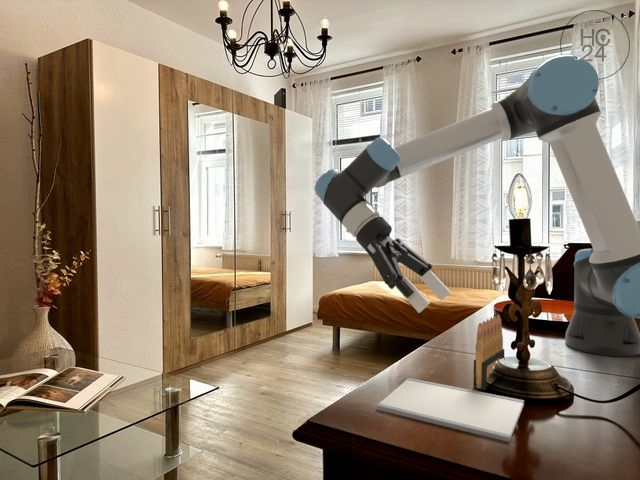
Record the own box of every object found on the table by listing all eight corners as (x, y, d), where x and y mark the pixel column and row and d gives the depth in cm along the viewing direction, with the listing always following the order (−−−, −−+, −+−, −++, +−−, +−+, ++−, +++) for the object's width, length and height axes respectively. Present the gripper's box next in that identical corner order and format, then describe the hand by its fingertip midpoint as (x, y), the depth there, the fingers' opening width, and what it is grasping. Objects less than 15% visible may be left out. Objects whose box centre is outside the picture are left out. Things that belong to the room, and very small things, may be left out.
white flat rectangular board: (524, 404, 71) (524, 400, 71) (509, 442, 59) (509, 437, 59) (408, 381, 82) (408, 377, 82) (376, 409, 70) (376, 405, 70)
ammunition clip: (483, 391, 77) (483, 324, 76) (473, 388, 78) (473, 322, 78) (504, 374, 85) (505, 313, 84) (495, 372, 86) (495, 312, 85)
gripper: (381, 236, 106) (442, 303, 98) (327, 242, 85) (399, 327, 77) (401, 214, 102) (466, 281, 95) (350, 214, 82) (428, 300, 74)
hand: (436, 302), depth 86 cm, fingers open, 13 cm apart
